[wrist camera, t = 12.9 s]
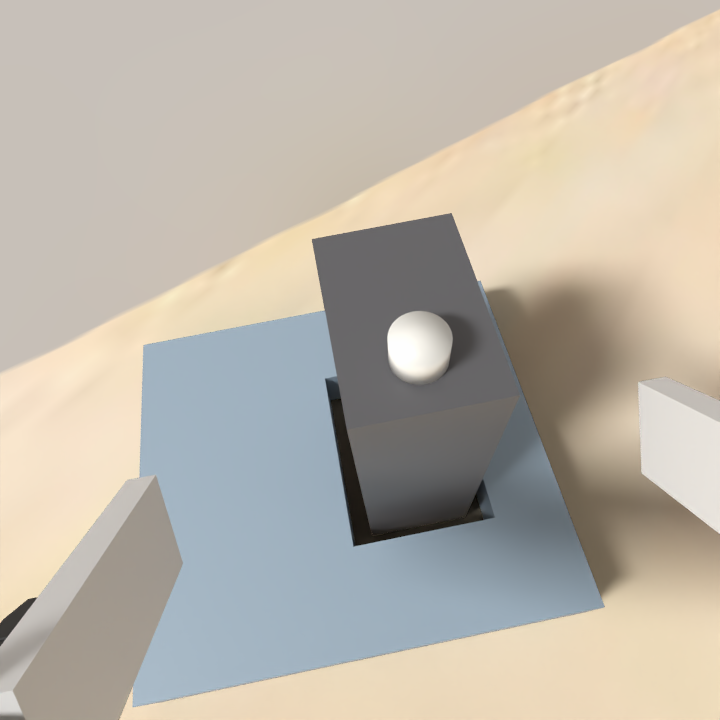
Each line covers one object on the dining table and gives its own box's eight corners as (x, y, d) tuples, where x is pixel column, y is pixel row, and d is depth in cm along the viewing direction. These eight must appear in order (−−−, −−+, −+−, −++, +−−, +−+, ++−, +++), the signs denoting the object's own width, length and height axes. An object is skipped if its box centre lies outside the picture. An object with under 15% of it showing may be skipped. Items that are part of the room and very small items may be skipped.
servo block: (431, 395, 28) (454, 187, 15) (465, 517, 24) (528, 376, 12) (348, 411, 27) (306, 215, 15) (372, 536, 24) (342, 413, 12)
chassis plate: (474, 308, 30) (480, 280, 28) (585, 612, 22) (604, 607, 20) (162, 368, 29) (143, 345, 27) (159, 702, 21) (132, 707, 19)
